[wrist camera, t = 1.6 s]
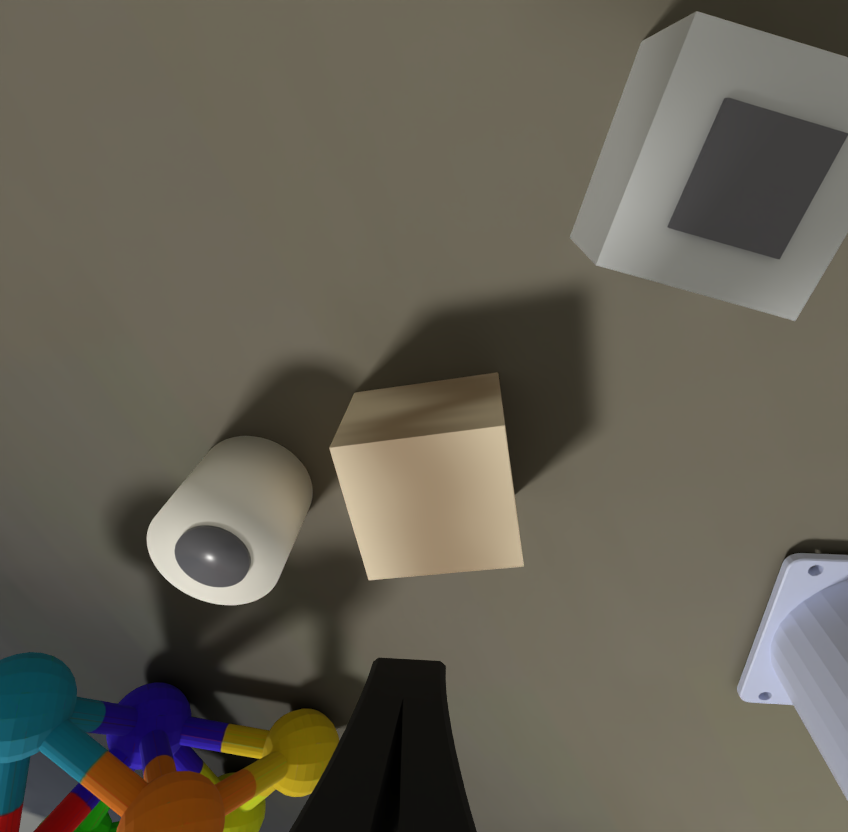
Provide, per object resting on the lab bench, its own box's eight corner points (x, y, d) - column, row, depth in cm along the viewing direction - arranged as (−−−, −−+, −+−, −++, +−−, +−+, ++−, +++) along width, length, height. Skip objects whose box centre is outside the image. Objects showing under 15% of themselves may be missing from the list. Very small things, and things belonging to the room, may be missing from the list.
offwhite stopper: (306, 437, 20) (269, 505, 16) (318, 532, 22) (287, 612, 18) (190, 433, 21) (127, 500, 17) (212, 528, 23) (161, 606, 19)
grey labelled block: (821, 96, 14) (943, 83, 11) (726, 281, 17) (799, 323, 13) (640, 42, 14) (700, 9, 10) (568, 236, 16) (597, 267, 13)
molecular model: (349, 600, 28) (-18, 602, 21) (406, 807, 21) (-118, 928, 14) (263, 753, 35) (-38, 797, 27) (284, 949, 28) (-112, 1083, 20)
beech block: (497, 370, 19) (504, 425, 15) (514, 492, 21) (523, 566, 17) (355, 390, 19) (329, 447, 16) (385, 507, 21) (368, 580, 18)
